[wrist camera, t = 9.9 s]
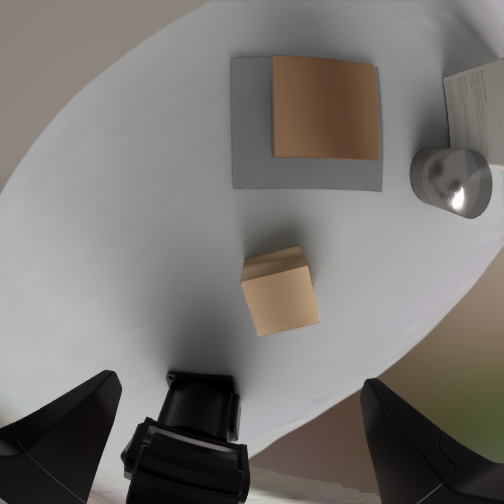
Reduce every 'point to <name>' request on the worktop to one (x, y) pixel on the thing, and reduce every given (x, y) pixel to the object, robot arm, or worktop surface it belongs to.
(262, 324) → the beech block
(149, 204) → the worktop surface
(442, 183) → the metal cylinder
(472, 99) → the supplement box
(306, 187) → the slate mat
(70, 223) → the worktop surface
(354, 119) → the walnut block
